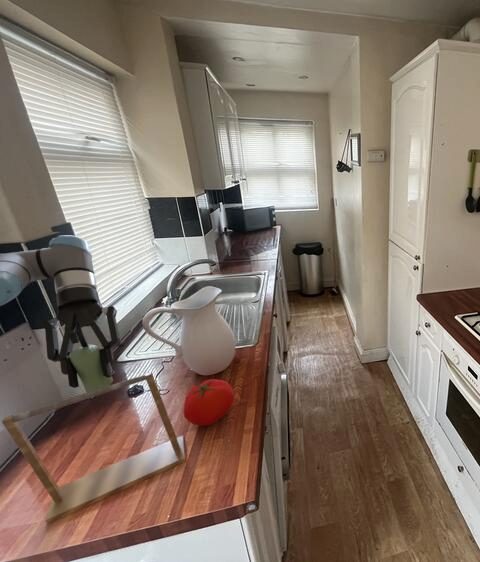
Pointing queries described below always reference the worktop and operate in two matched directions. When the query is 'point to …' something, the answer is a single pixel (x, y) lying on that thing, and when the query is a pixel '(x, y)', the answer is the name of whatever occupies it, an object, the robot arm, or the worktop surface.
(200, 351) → the pitcher
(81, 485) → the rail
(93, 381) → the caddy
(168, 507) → the worktop surface
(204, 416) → the tomato
